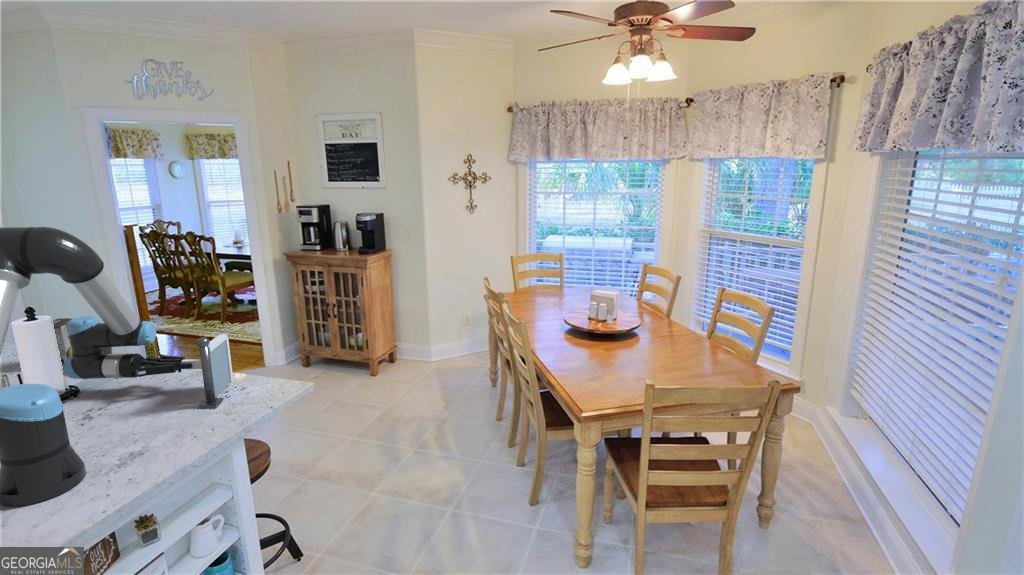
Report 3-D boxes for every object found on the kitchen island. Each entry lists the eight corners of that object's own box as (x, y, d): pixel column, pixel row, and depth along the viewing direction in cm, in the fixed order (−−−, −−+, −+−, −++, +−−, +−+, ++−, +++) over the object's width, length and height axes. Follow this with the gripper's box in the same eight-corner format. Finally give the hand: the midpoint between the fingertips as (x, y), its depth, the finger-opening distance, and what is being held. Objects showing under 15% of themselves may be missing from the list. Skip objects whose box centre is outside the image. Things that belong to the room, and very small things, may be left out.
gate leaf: (216, 397, 157) (209, 346, 153) (209, 397, 157) (202, 347, 153) (233, 380, 169) (227, 333, 165) (227, 380, 169) (221, 333, 165)
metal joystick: (216, 408, 154) (207, 340, 148) (198, 408, 153) (189, 340, 148) (223, 400, 159) (215, 334, 153) (206, 401, 158) (197, 334, 153)
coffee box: (66, 360, 186) (57, 318, 182) (86, 359, 187) (77, 317, 183) (48, 370, 177) (39, 326, 173) (69, 369, 178) (60, 325, 174)
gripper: (138, 368, 168) (215, 366, 170) (113, 385, 155) (196, 383, 158) (135, 347, 166) (212, 345, 169) (109, 362, 153) (193, 360, 156)
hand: (204, 364), depth 163 cm, fingers closed
